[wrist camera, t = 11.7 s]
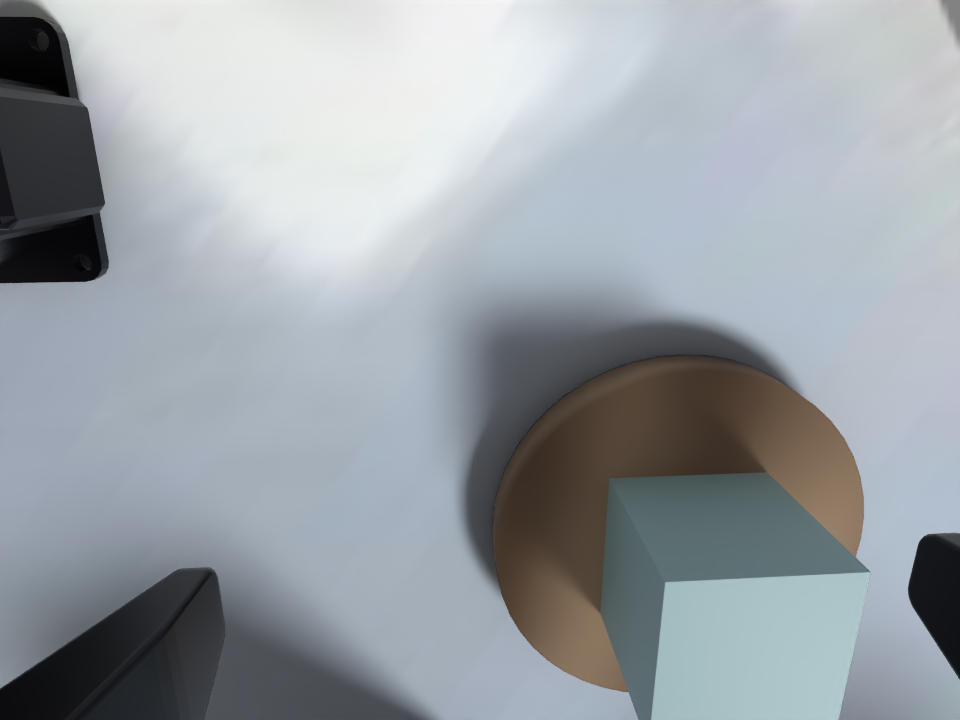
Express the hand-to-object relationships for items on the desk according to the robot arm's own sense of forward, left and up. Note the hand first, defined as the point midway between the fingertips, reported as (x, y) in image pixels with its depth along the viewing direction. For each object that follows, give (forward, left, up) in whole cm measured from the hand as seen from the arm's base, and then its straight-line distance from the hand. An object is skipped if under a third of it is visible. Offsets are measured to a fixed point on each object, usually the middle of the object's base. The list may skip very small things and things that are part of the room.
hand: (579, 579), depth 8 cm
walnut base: (+6, -7, -12) cm, 15 cm away
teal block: (+6, -7, -10) cm, 14 cm away
